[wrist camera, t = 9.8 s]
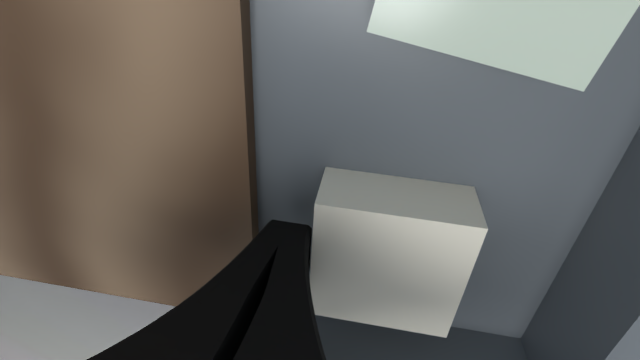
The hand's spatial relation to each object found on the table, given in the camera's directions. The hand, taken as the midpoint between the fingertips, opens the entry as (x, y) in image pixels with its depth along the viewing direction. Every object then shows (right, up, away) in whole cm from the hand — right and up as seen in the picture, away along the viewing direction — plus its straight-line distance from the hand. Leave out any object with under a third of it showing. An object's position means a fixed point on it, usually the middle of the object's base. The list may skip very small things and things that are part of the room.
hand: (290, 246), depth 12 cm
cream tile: (+3, 0, +1) cm, 3 cm away
